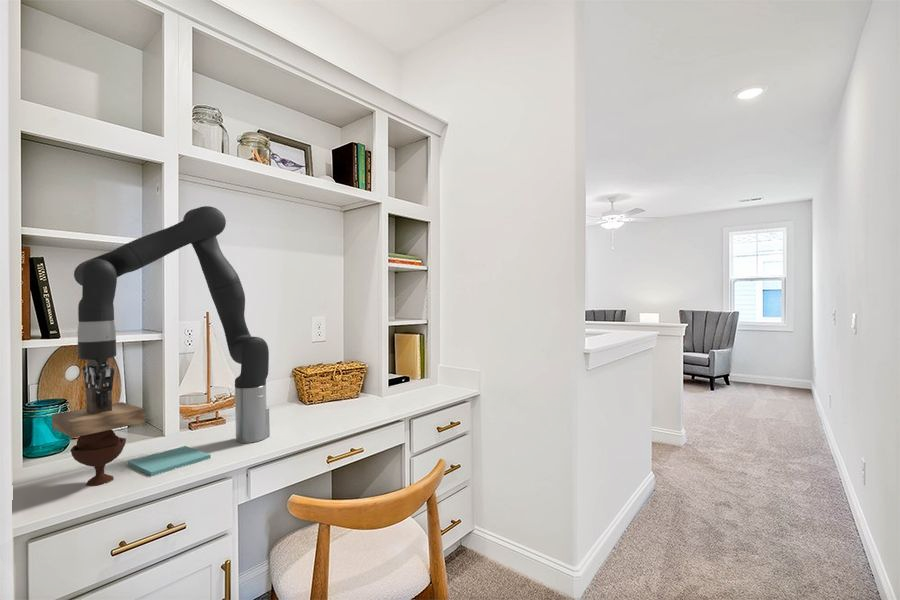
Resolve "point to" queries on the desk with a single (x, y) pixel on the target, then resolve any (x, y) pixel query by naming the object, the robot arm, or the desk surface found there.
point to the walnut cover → (97, 417)
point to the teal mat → (168, 460)
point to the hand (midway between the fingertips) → (99, 407)
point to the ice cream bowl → (98, 453)
